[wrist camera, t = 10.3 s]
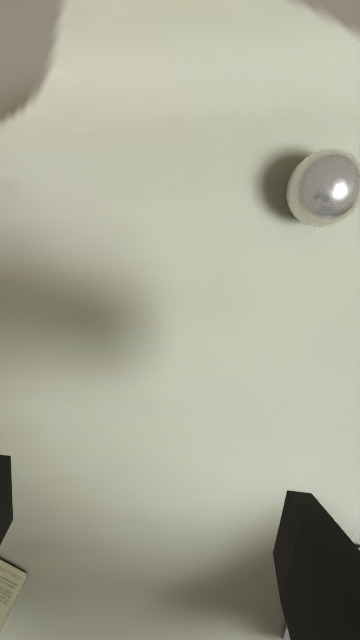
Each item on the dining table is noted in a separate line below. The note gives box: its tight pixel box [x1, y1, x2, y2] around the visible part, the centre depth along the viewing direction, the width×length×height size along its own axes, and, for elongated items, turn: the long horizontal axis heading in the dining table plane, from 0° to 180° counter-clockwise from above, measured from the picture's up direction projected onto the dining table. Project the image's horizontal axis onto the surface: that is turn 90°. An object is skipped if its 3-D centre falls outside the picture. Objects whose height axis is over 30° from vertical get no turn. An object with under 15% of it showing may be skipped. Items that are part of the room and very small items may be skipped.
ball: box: [286, 149, 360, 227], centre depth 14 cm, size 3×3×3 cm
